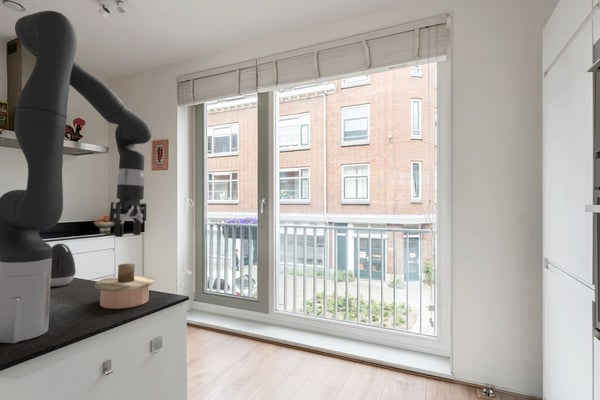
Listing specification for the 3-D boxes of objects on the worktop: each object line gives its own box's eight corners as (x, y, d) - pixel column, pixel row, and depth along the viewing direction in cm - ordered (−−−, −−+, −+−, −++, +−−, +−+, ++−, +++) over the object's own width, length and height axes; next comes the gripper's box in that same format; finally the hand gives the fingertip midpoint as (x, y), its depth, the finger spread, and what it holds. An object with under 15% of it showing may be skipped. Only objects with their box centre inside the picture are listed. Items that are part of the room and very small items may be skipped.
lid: (133, 292, 89) (134, 271, 89) (81, 289, 91) (82, 268, 91) (163, 279, 105) (164, 261, 105) (119, 277, 107) (120, 259, 107)
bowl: (131, 309, 91) (131, 290, 91) (89, 306, 92) (90, 288, 92) (156, 297, 104) (157, 280, 104) (120, 294, 105) (120, 278, 105)
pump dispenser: (33, 286, 113) (35, 243, 113) (66, 280, 122) (68, 241, 122) (48, 290, 108) (50, 246, 108) (80, 284, 117) (82, 243, 118)
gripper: (127, 182, 92) (124, 238, 91) (154, 186, 106) (152, 234, 105) (103, 182, 92) (100, 237, 92) (134, 186, 107) (131, 233, 106)
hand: (128, 235), depth 99 cm, fingers open, 8 cm apart
